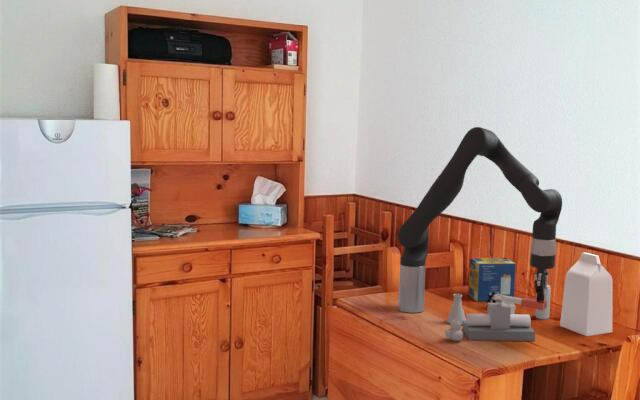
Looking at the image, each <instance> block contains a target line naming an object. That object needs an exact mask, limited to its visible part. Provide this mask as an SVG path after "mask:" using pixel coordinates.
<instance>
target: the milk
mask: <svg viewBox="0 0 640 400" xmlns="http://www.w3.org/2000/svg"><path fill="white" fill-rule="evenodd" d="M613 283H614V282H613V277H612V275H611V273H609V271H608V270H607V269H606V268H605V267H604V266H603V264H602V263H601V260H600V256H599V255H596V254H593V253H589V252H581V255H580V257H579V259H578V260H577V261H576V262H575V264H573V265H572V266H571V267H570V268H569V269H568V270H567V272H566V274H565V279H564V288H563V295H562V305H561V315H560V321H559V326H560V327H561V328H564V329H567V330H570V331H572V332H575V333H577V334H580V335H582V336H584V337H590V336H597V335H604V334H608V333H613V301H614V300H613V298H614V295H613V293H614V292H613V289H614V288H613V287H614V286H613Z"/></svg>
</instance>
